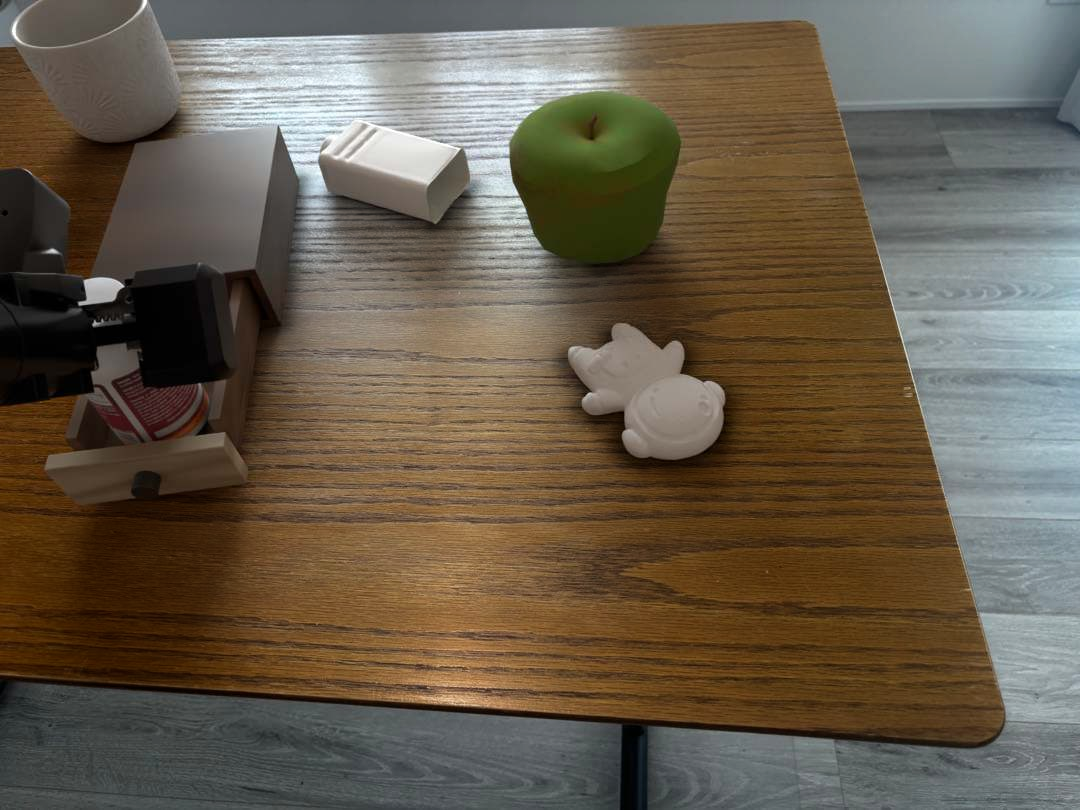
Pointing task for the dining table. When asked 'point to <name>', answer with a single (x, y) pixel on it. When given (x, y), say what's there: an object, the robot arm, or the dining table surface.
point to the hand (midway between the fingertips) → (126, 340)
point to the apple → (595, 174)
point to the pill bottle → (139, 389)
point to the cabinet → (207, 211)
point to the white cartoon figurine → (650, 395)
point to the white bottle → (394, 170)
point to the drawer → (174, 463)
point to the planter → (100, 65)
